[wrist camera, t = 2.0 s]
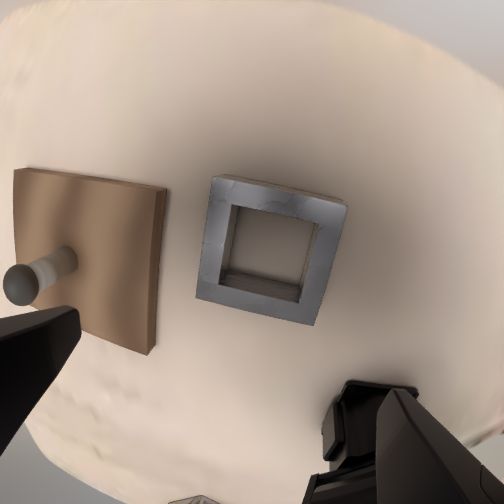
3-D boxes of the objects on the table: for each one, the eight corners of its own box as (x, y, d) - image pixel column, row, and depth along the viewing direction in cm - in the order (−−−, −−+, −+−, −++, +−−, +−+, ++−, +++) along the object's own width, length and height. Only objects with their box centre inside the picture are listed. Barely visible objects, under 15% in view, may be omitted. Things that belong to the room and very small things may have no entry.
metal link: (341, 200, 17) (348, 206, 15) (312, 307, 19) (313, 326, 17) (224, 174, 18) (213, 176, 15) (207, 282, 20) (195, 297, 18)
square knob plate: (166, 188, 18) (89, 212, 11) (154, 345, 22) (105, 412, 15) (26, 167, 20) (-47, 181, 12) (31, 294, 24) (-25, 331, 16)
